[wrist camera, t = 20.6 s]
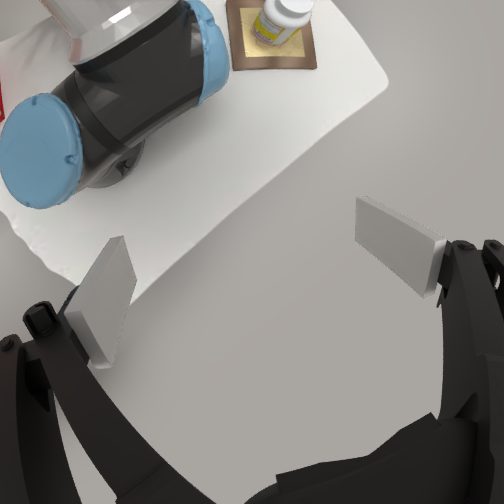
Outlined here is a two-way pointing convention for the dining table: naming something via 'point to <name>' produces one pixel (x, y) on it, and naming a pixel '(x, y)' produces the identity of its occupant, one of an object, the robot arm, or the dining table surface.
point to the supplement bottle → (282, 19)
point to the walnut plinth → (258, 52)
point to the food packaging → (1, 107)
